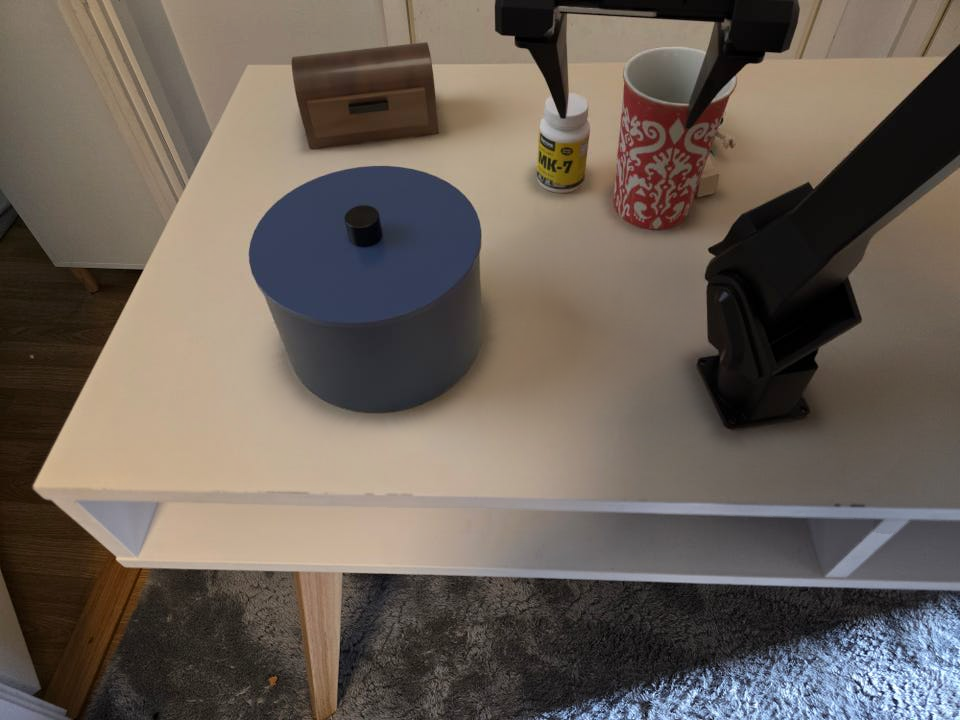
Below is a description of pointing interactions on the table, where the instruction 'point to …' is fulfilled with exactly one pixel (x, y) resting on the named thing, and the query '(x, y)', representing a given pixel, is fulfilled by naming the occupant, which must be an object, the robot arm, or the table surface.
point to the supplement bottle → (563, 145)
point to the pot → (373, 285)
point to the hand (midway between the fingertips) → (624, 120)
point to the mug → (662, 137)
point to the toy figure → (713, 167)
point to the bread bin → (366, 94)
